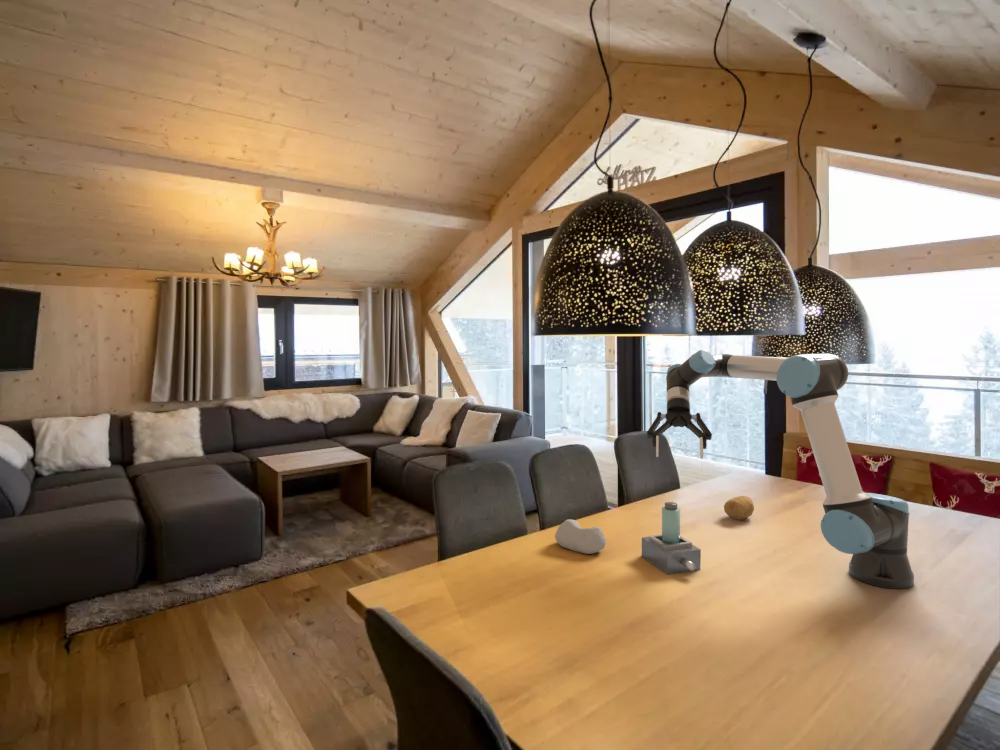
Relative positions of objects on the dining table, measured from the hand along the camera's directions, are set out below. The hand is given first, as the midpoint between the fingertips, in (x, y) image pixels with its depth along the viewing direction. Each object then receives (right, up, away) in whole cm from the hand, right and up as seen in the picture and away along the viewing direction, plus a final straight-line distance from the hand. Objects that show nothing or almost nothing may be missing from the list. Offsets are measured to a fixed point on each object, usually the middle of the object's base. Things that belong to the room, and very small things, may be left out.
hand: (679, 455), depth 182 cm
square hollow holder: (-6, -31, -11) cm, 33 cm away
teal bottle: (-6, -25, -12) cm, 28 cm away
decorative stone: (-31, -30, +2) cm, 43 cm away
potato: (+31, -28, +29) cm, 51 cm away
